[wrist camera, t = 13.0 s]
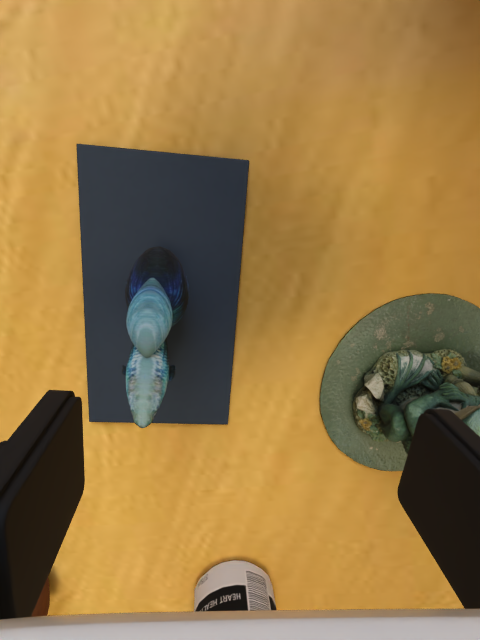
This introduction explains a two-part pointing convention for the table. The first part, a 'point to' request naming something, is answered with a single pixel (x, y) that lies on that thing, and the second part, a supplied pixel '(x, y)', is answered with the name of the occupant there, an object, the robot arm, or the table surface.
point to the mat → (191, 250)
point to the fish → (152, 328)
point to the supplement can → (234, 588)
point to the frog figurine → (401, 376)
